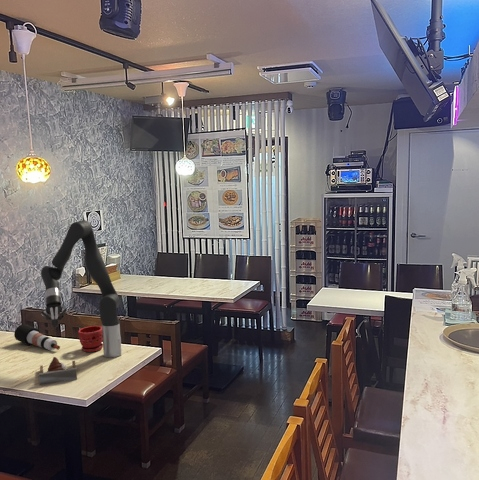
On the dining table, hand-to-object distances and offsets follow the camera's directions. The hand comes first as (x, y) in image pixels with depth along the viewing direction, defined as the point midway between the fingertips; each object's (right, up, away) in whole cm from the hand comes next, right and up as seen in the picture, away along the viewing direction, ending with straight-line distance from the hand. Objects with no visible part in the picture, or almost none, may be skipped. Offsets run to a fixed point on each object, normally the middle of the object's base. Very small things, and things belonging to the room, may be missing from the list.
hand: (55, 327), depth 239 cm
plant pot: (+10, -18, +27) cm, 34 cm away
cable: (-22, -18, +34) cm, 44 cm away
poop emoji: (+4, -22, -10) cm, 25 cm away
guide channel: (+5, -22, -8) cm, 24 cm away
